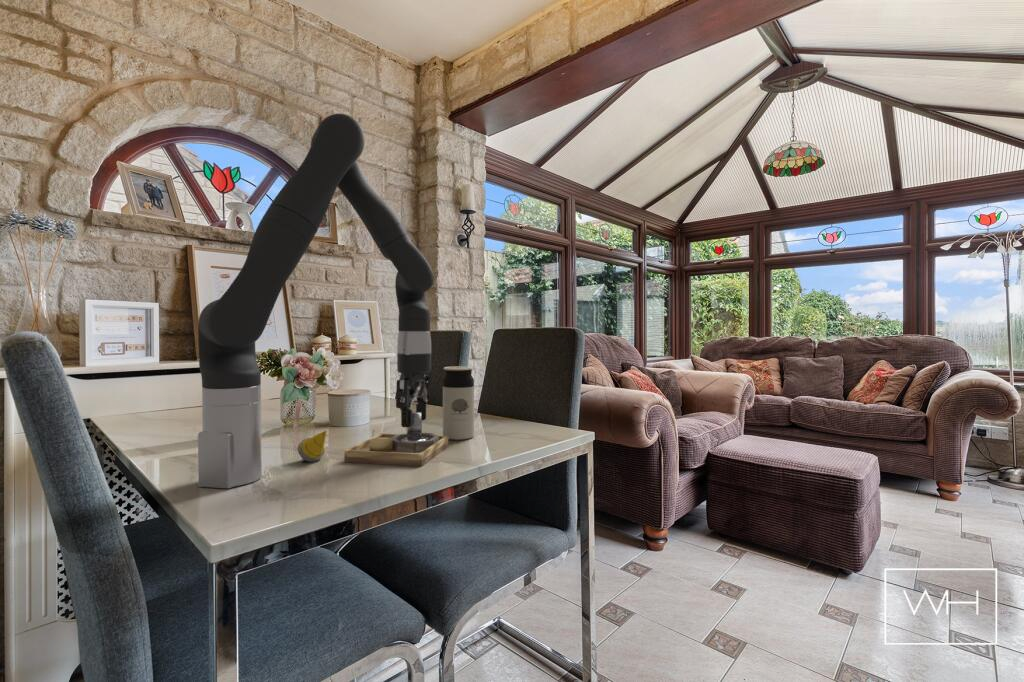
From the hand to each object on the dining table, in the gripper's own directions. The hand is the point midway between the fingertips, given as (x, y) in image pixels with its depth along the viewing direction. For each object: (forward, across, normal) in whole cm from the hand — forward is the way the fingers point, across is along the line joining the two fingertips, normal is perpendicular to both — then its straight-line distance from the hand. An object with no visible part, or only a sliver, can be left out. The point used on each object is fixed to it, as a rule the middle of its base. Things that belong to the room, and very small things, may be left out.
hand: (414, 423), depth 108 cm
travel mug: (+6, -16, +6) cm, 18 cm away
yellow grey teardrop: (+7, +11, -17) cm, 22 cm away
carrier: (+6, +2, -2) cm, 7 cm away
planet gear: (+5, 0, 0) cm, 5 cm away
